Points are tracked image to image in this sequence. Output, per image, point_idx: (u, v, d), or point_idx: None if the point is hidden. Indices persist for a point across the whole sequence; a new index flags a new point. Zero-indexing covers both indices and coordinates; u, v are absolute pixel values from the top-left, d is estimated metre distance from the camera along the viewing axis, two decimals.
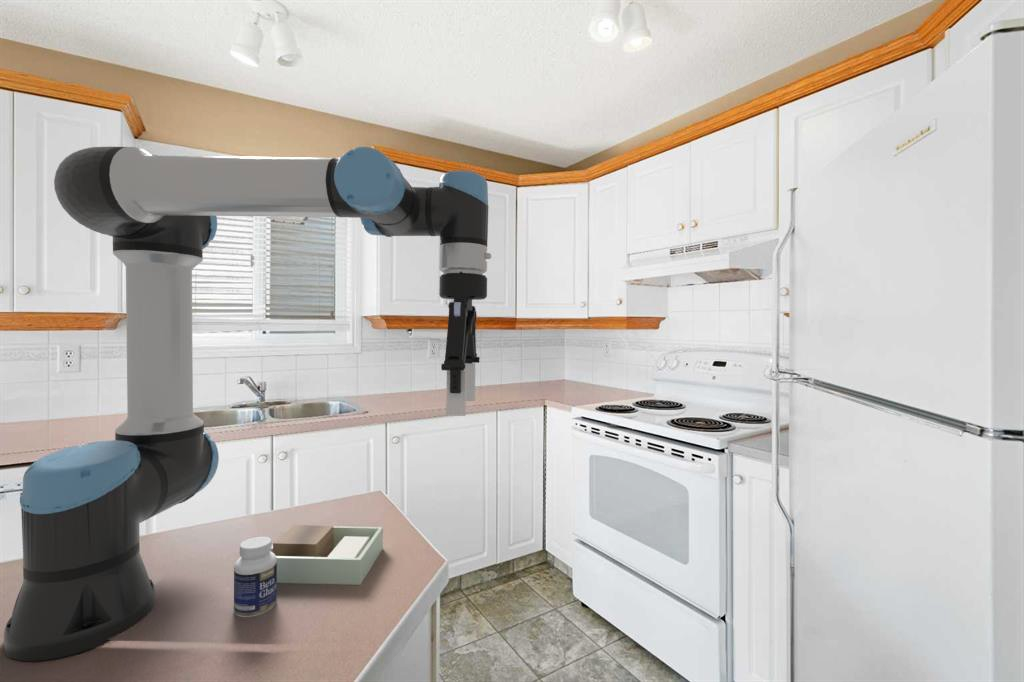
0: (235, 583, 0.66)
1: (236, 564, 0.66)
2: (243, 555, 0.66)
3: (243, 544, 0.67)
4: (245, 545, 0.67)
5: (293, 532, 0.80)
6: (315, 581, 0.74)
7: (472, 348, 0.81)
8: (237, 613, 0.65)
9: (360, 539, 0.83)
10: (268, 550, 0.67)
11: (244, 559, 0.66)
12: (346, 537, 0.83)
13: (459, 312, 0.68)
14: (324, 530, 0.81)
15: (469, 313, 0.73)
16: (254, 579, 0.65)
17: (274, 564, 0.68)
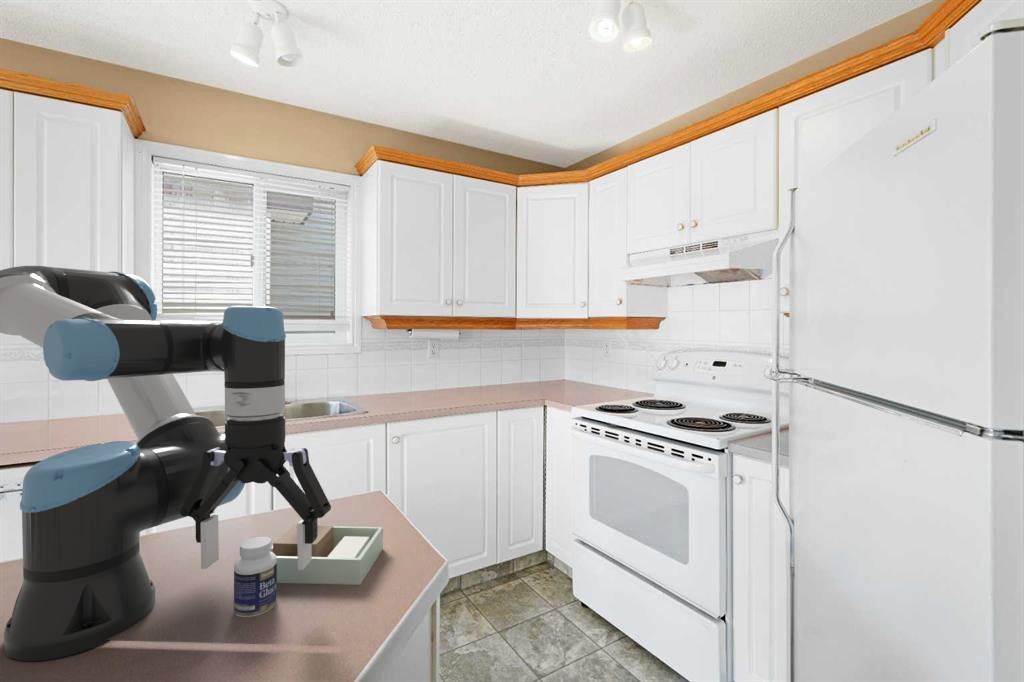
0: (235, 583, 0.66)
1: (236, 564, 0.66)
2: (243, 555, 0.66)
3: (243, 544, 0.67)
4: (245, 545, 0.67)
5: (293, 532, 0.80)
6: (315, 581, 0.74)
7: (290, 503, 0.66)
8: (237, 613, 0.65)
9: (360, 539, 0.83)
10: (268, 550, 0.67)
11: (244, 559, 0.66)
12: (346, 537, 0.83)
13: None
14: (324, 530, 0.81)
15: None
16: (254, 579, 0.65)
17: (274, 564, 0.68)
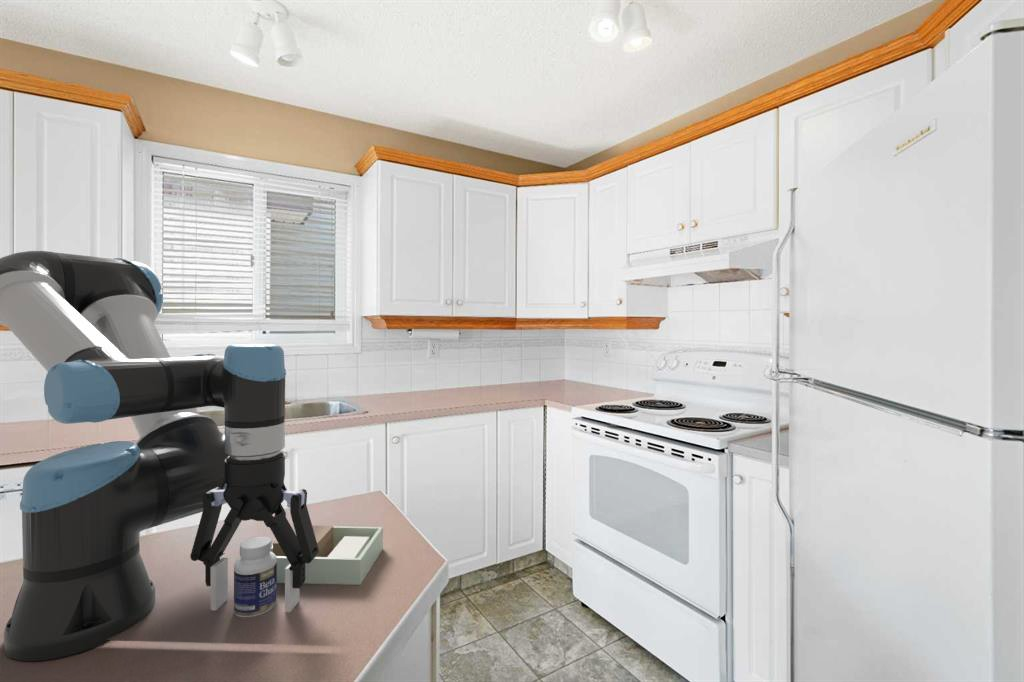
0: (235, 583, 0.66)
1: (236, 564, 0.66)
2: (243, 555, 0.66)
3: (243, 544, 0.67)
4: (244, 545, 0.67)
5: None
6: (315, 581, 0.74)
7: None
8: (237, 613, 0.65)
9: (360, 539, 0.83)
10: (268, 550, 0.67)
11: (244, 559, 0.66)
12: (346, 537, 0.83)
13: None
14: (324, 530, 0.81)
15: None
16: (253, 579, 0.65)
17: (274, 564, 0.68)
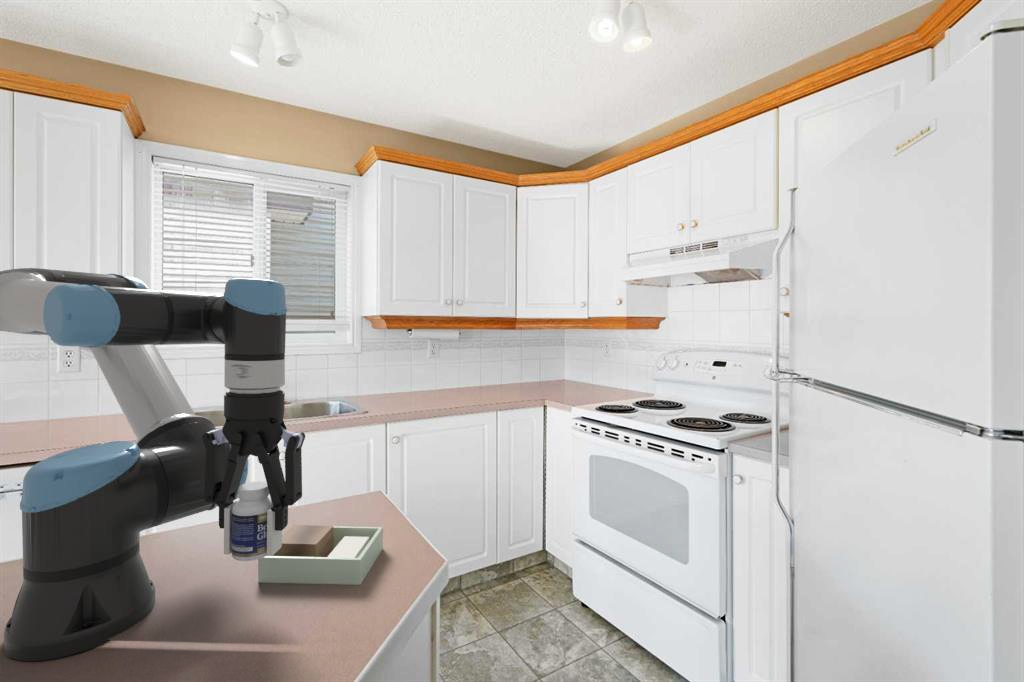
0: (233, 525, 0.66)
1: (234, 506, 0.66)
2: (241, 497, 0.66)
3: (241, 487, 0.67)
4: (243, 487, 0.67)
5: (293, 532, 0.80)
6: (315, 581, 0.74)
7: None
8: (235, 554, 0.65)
9: (360, 539, 0.83)
10: (266, 493, 0.67)
11: (242, 501, 0.66)
12: (346, 537, 0.83)
13: None
14: (324, 530, 0.81)
15: None
16: (251, 521, 0.65)
17: None
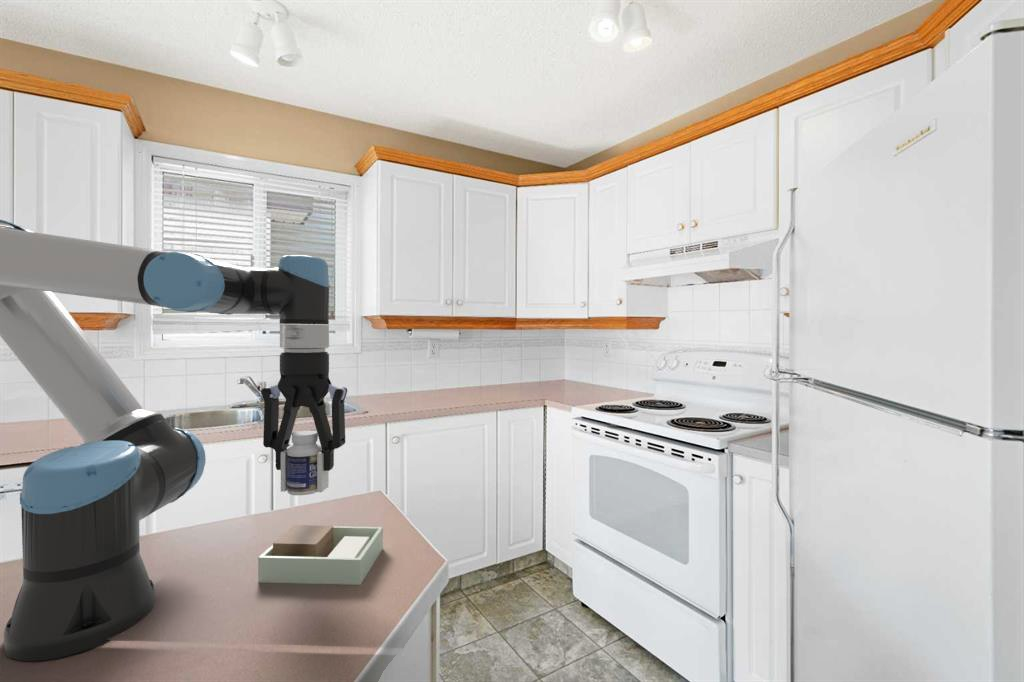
0: (288, 465, 0.77)
1: (289, 449, 0.78)
2: (295, 441, 0.77)
3: (294, 433, 0.78)
4: (296, 434, 0.78)
5: (293, 532, 0.80)
6: (315, 581, 0.74)
7: (317, 431, 0.78)
8: (290, 490, 0.77)
9: (360, 539, 0.83)
10: (315, 439, 0.79)
11: (296, 445, 0.78)
12: (346, 537, 0.83)
13: None
14: (324, 530, 0.81)
15: None
16: (304, 461, 0.77)
17: None
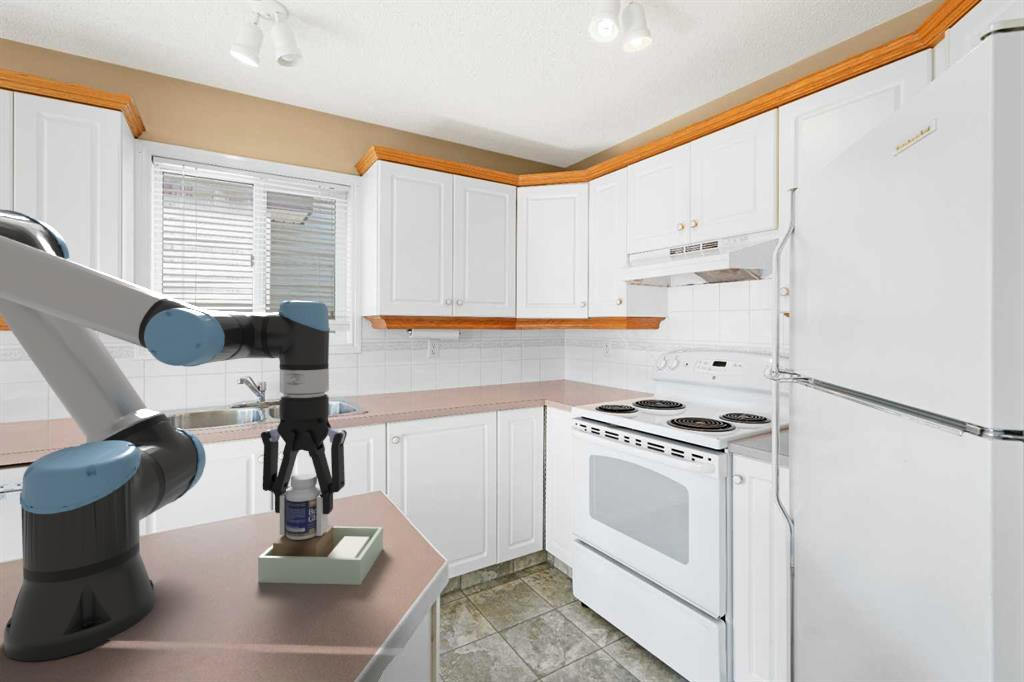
0: (288, 509, 0.77)
1: (288, 493, 0.78)
2: (294, 486, 0.78)
3: (293, 477, 0.79)
4: (295, 478, 0.78)
5: None
6: (315, 581, 0.74)
7: None
8: (290, 534, 0.77)
9: (360, 539, 0.83)
10: (314, 483, 0.79)
11: (295, 489, 0.78)
12: (346, 537, 0.83)
13: None
14: None
15: None
16: (304, 506, 0.77)
17: None
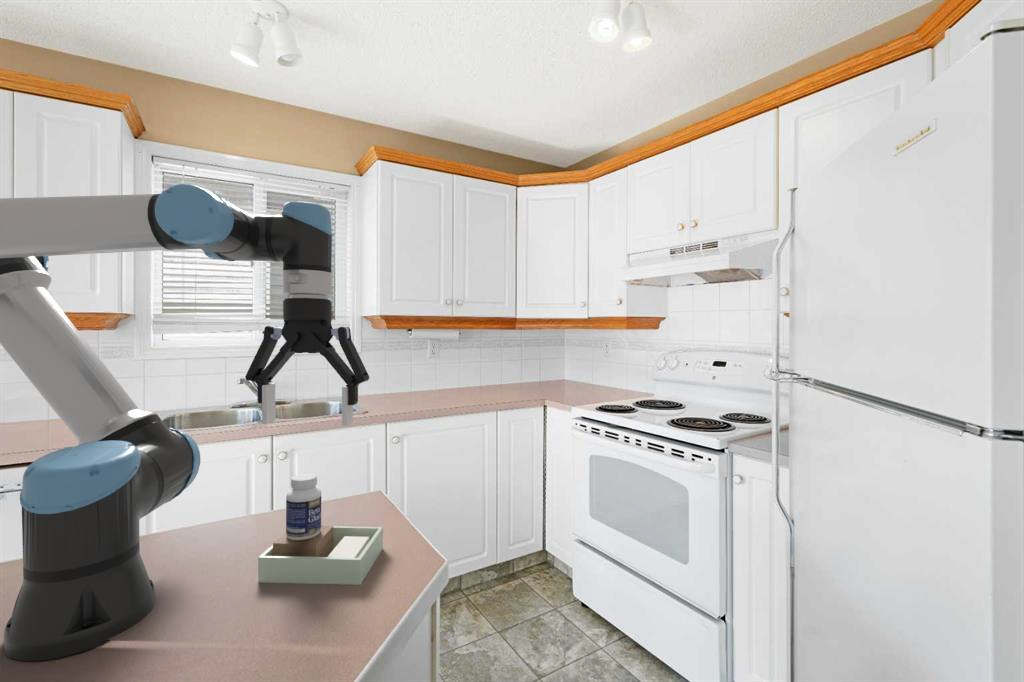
0: (288, 510, 0.77)
1: (288, 494, 0.78)
2: (294, 486, 0.78)
3: (293, 478, 0.79)
4: (295, 478, 0.78)
5: None
6: (315, 581, 0.74)
7: None
8: (289, 535, 0.77)
9: (360, 539, 0.83)
10: (315, 483, 0.79)
11: (295, 490, 0.78)
12: (346, 537, 0.83)
13: None
14: (324, 530, 0.81)
15: None
16: (304, 506, 0.77)
17: (319, 495, 0.79)
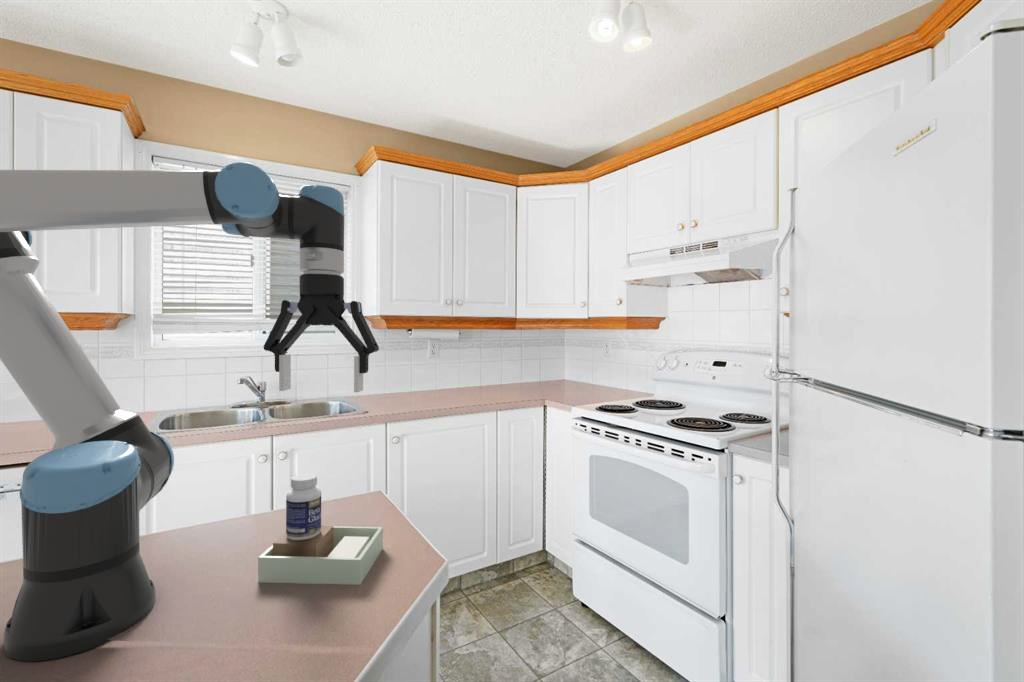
0: (288, 510, 0.77)
1: (288, 494, 0.78)
2: (294, 486, 0.78)
3: (293, 478, 0.79)
4: (295, 478, 0.78)
5: None
6: (315, 581, 0.74)
7: None
8: (289, 535, 0.77)
9: (360, 539, 0.83)
10: (315, 483, 0.79)
11: (295, 490, 0.78)
12: (346, 537, 0.83)
13: None
14: (324, 530, 0.81)
15: None
16: (304, 506, 0.77)
17: (319, 495, 0.79)
